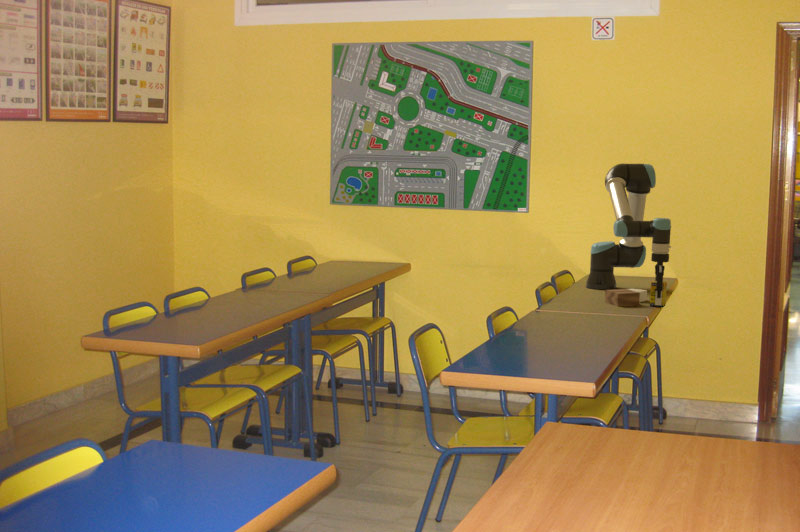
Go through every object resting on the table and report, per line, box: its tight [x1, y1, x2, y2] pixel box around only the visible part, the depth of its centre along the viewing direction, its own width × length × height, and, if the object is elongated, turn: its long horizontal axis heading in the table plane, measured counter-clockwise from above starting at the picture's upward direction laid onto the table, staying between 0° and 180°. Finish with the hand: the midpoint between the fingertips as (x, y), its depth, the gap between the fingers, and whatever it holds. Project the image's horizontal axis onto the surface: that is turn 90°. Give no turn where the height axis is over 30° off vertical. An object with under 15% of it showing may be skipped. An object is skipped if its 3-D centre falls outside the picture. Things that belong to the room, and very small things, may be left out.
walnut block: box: [604, 288, 640, 307], centre depth 392 cm, size 11×11×6 cm
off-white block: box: [627, 288, 648, 303], centre depth 403 cm, size 8×8×5 cm
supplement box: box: [649, 280, 668, 308], centre depth 388 cm, size 6×6×11 cm
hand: (657, 303), depth 388 cm, fingers closed on supplement box, 7 cm apart
